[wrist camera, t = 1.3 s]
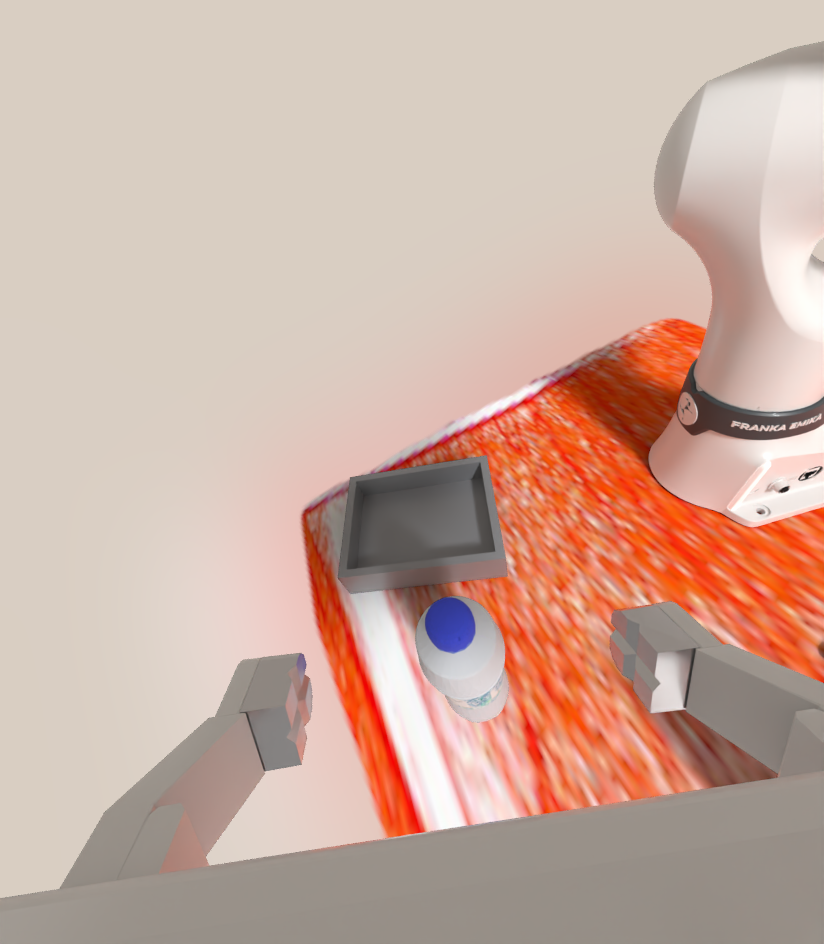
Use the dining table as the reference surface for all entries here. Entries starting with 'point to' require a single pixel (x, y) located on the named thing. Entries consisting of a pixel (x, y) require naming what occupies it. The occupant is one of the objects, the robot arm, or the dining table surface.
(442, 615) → the bottle
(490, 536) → the serving tray
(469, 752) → the dining table surface
